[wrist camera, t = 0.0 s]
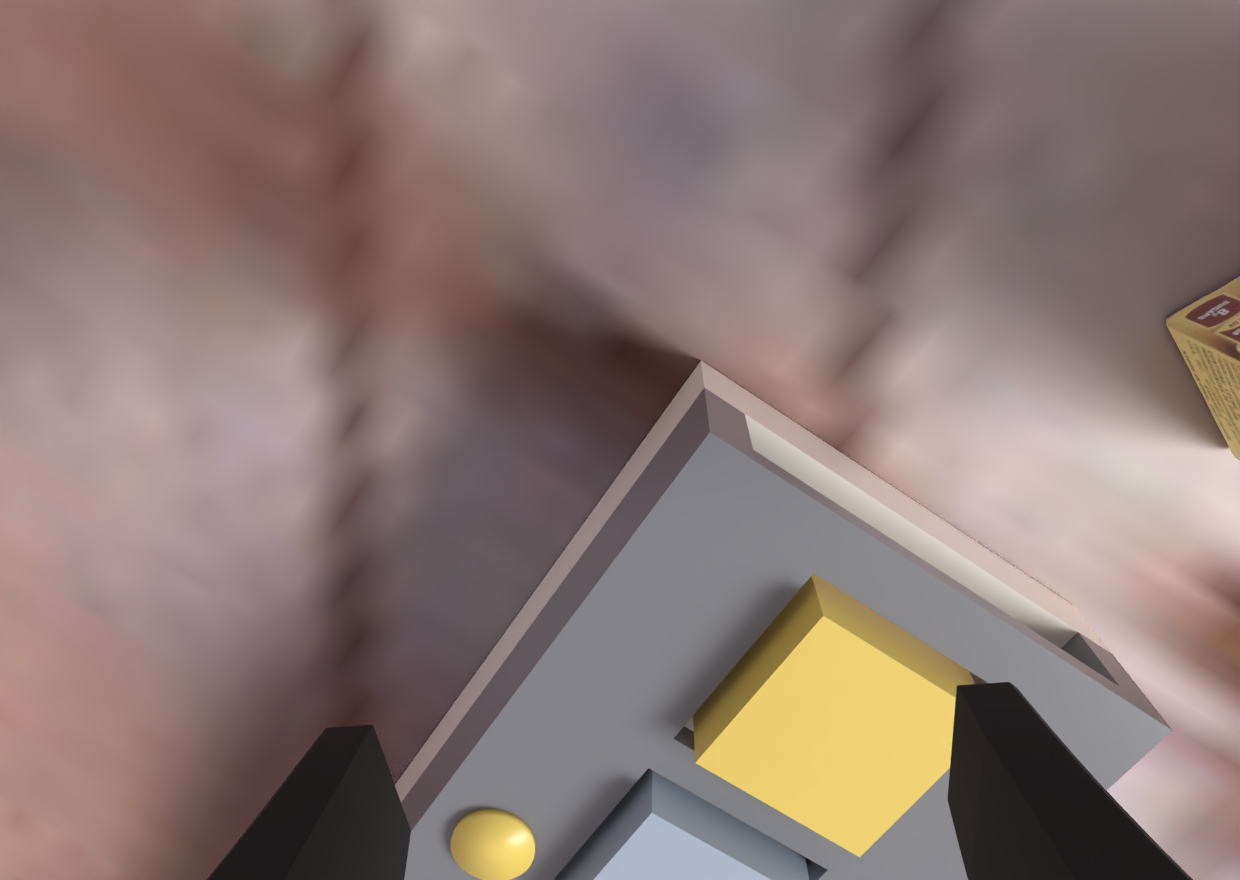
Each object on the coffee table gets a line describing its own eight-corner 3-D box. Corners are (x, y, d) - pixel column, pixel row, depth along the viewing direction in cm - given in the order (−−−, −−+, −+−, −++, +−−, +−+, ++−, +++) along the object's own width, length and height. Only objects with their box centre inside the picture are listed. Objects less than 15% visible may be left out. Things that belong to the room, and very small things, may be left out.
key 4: (843, 793, 20) (859, 857, 18) (692, 705, 20) (695, 763, 18) (966, 666, 19) (995, 722, 17) (808, 567, 18) (823, 615, 17)
